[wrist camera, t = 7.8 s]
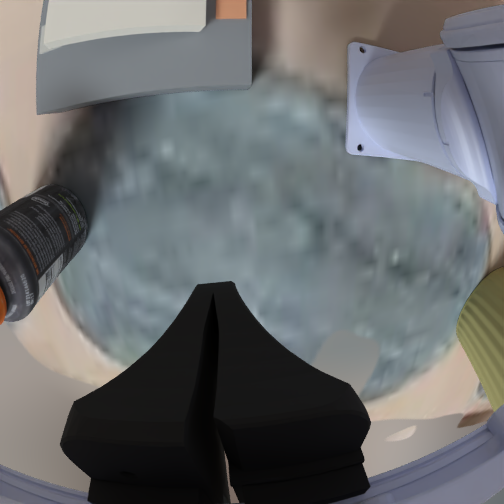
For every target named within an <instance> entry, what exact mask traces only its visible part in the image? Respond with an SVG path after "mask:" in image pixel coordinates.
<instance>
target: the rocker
mask: <svg viewBox="0 0 504 504" xmlns="http://www.w3.org/2000/svg"><path fill="white" fill-rule="evenodd" d="M205 26H206V0H49V3H48V10H47V17H46V25H45V34H44V45H45V46H46V47H47V48H48V49H51V48H55V47H59V46H63V45H68V44H73V43H78V42H83V41H88V40H94V39H100V38H107V37H114V36H123V35H132V34H144V33H161V32H200V31H201V30H202V29H203V28H204V27H205Z"/></svg>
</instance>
